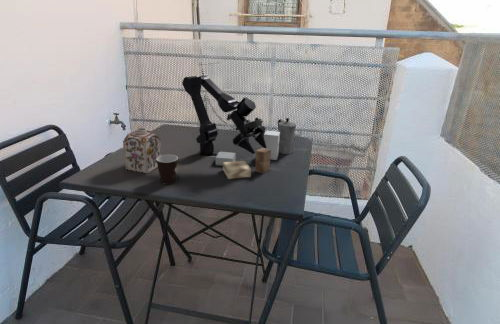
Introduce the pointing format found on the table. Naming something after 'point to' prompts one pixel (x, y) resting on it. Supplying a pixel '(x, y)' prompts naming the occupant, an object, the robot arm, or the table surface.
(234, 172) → the beech block
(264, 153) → the walnut block
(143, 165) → the decorative jar
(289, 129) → the coffeepot
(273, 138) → the supplement box
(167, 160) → the coffee mug
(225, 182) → the table surface
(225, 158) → the slate block
